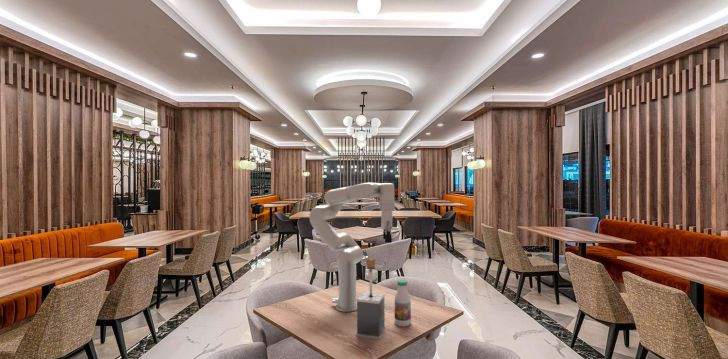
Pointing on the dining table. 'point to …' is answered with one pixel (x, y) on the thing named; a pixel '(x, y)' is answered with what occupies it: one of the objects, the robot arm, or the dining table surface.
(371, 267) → the plunger
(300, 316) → the dining table surface
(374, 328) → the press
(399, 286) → the milk bottle
